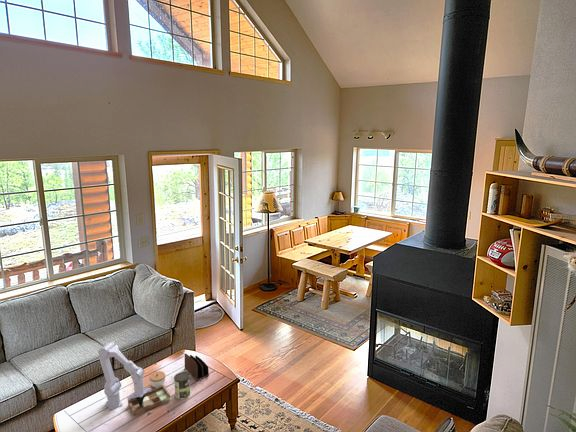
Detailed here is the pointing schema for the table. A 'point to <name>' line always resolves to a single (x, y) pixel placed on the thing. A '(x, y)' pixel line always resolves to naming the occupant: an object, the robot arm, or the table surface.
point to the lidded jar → (157, 379)
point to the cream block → (146, 401)
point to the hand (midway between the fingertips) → (140, 405)
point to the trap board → (154, 395)
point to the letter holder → (196, 367)
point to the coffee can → (182, 385)
